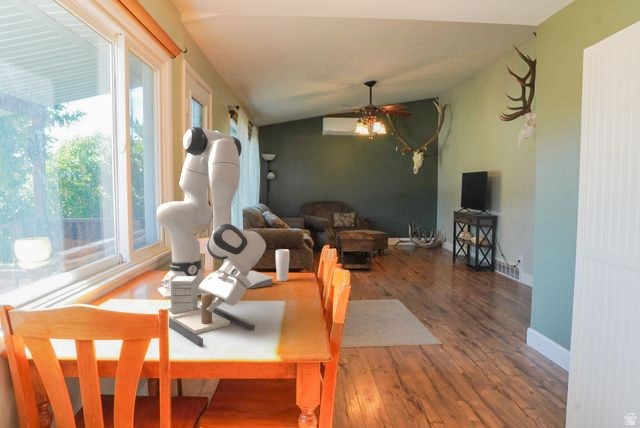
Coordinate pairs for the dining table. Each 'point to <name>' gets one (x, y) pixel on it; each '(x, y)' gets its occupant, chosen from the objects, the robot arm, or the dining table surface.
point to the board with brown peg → (199, 317)
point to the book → (259, 279)
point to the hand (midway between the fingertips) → (204, 309)
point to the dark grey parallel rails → (218, 311)
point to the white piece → (282, 264)
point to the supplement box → (184, 294)
